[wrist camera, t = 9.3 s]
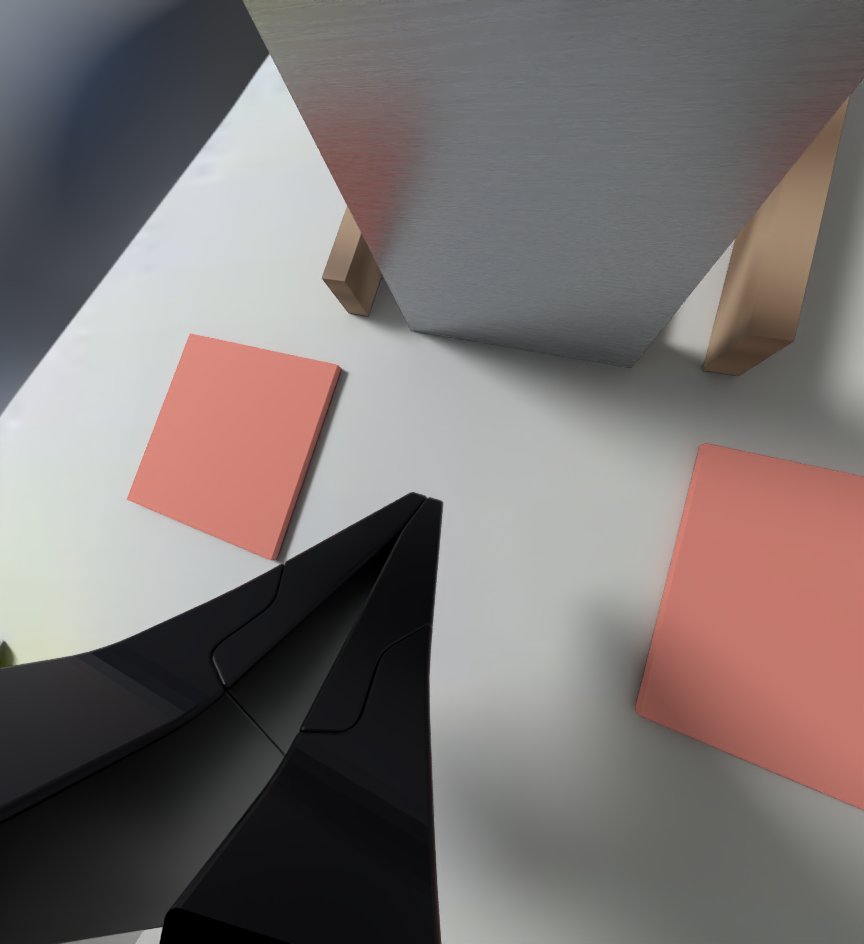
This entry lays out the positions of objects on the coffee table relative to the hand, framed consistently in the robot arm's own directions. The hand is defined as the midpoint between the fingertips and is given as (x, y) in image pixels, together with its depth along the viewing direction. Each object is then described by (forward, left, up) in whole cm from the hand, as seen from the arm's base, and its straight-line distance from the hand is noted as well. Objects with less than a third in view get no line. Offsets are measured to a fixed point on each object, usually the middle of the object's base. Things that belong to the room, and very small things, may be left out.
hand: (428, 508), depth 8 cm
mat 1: (+5, +12, -6) cm, 14 cm away
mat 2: (-4, -12, -6) cm, 14 cm away
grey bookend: (+13, -5, -6) cm, 15 cm away
